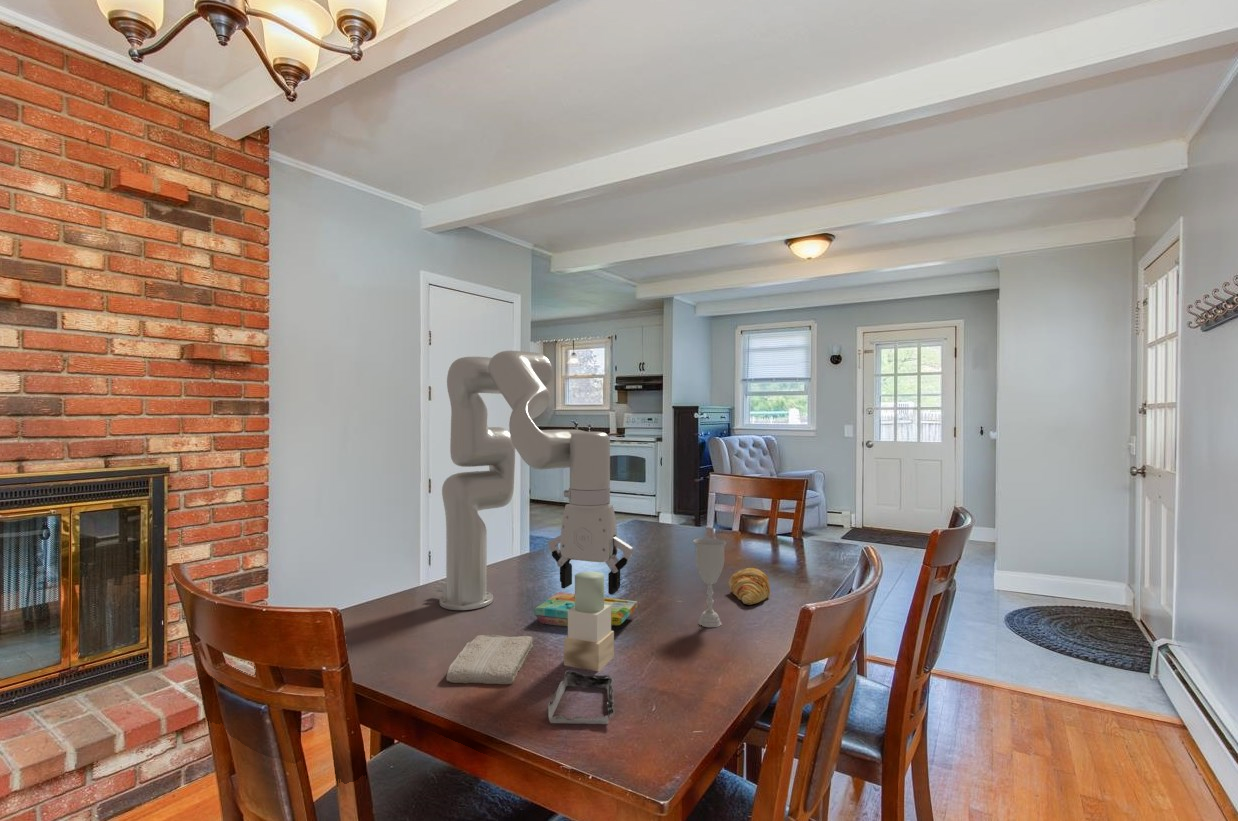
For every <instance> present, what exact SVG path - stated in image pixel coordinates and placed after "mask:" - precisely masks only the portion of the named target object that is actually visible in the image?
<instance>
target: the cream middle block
mask: <svg viewBox="0 0 1238 821" xmlns="http://www.w3.org/2000/svg"><path fill="white" fill-rule="evenodd" d="M611 631H612V625H611V605H606V604H604V609H603V610H601V611H598V612H592V613H586V612H579V611H577V610H575V606H574V607H573V608H571V609H570V610H568V627H567V636H568V638H572V639H578V640H583V641H589V642H595V643H598V642H599V641H600V640H601V639H603V638H604V637H605V636H606V635H608V634H609V633H610V632H611Z"/></svg>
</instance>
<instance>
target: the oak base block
mask: <svg viewBox="0 0 1238 821" xmlns="http://www.w3.org/2000/svg"><path fill="white" fill-rule="evenodd" d="M614 646H615V631H614V630H611V632H610V633H609V634H608V635H606V636H605V637H604V638H603V639H601V640H600V641H599V642H598V643H595V642H589V641H583V640H578V639H572V638H568V635H567V636H565V637H564V638H563V666H566V667H572V668H577V669H581V670H587V671H593V672H600V671H601V670H602V669H603V668H604V667H605V666H606V665H607V664H608V663H609V662H611V660H612V659H613V658H615V647H614Z"/></svg>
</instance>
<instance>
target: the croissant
mask: <svg viewBox="0 0 1238 821" xmlns="http://www.w3.org/2000/svg"><path fill="white" fill-rule="evenodd" d="M728 586H729V590H731V592H732V594H733V595H734V596H736V597H737V599H738V600H740V601H741V602H742V603H743V605H748V606H749V605H754V604H758V603H760V602H763V601H764V600H765V599H768V598H769V597H770V595H771V586H770V581H769V579H768V576H767V575H766V574H765V573H764V572H763V571H762V570H760V569H759V568H757V567H746V568H741V569H740V570H738V571H736V572H735V573H733V575H731V577H730V578H729V580H728Z"/></svg>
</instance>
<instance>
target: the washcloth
mask: <svg viewBox="0 0 1238 821" xmlns="http://www.w3.org/2000/svg"><path fill="white" fill-rule="evenodd" d="M533 642H534V638H533V637H532V636H528V635H522V636H521V635H520V636H504V635H500V634H479V635H477V636H475V638H474V639H473V640H471V641H470V642H469V641H468V642H467V643H466V644H465V646H464V647H463V649H462V650H461V651H460V652H459V653H458V654H457V656H456V658H455V659H454V660H453V662H451V664H450V665H449V667H448V670H447V672H446V682H449V683H453V684H469V683H471V684H472V683H473V684H484V685H511V684H513V683H514V681H515V679H516V678H517V675H518V674H517V673H519V672H520V670H521V669H520V668H522V667H523V665H524V662H525V660H526V659H527V656H529V655H528V653H529V654H530V652H531V650H532V649H533V648H532V647H534V645H533ZM529 651H530V652H529ZM525 658H526V659H525ZM518 671H519V672H518Z"/></svg>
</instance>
